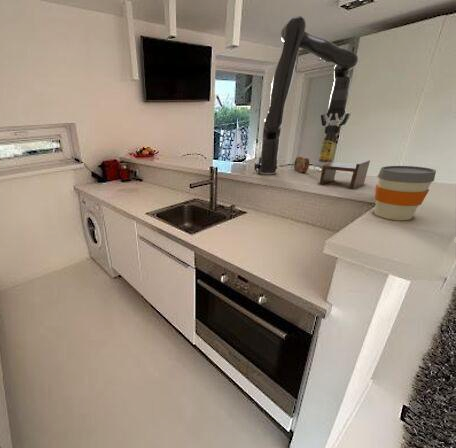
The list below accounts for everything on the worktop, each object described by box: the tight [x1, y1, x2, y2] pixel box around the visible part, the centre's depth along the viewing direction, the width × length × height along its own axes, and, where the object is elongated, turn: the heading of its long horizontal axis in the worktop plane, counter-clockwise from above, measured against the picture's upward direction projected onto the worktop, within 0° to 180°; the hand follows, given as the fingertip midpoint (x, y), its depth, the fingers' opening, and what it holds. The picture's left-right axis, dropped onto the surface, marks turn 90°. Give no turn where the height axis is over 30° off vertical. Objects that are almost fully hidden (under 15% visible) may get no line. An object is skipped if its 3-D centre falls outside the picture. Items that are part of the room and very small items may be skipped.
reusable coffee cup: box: [374, 165, 437, 221], centre depth 77 cm, size 12×13×15 cm
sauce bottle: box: [318, 124, 338, 163], centre depth 138 cm, size 6×6×20 cm
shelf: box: [318, 159, 371, 190], centre depth 115 cm, size 14×12×11 cm
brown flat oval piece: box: [293, 155, 310, 173], centre depth 147 cm, size 15×3×8 cm, turn 172°
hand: (331, 133), depth 135 cm, fingers closed on sauce bottle, 4 cm apart
